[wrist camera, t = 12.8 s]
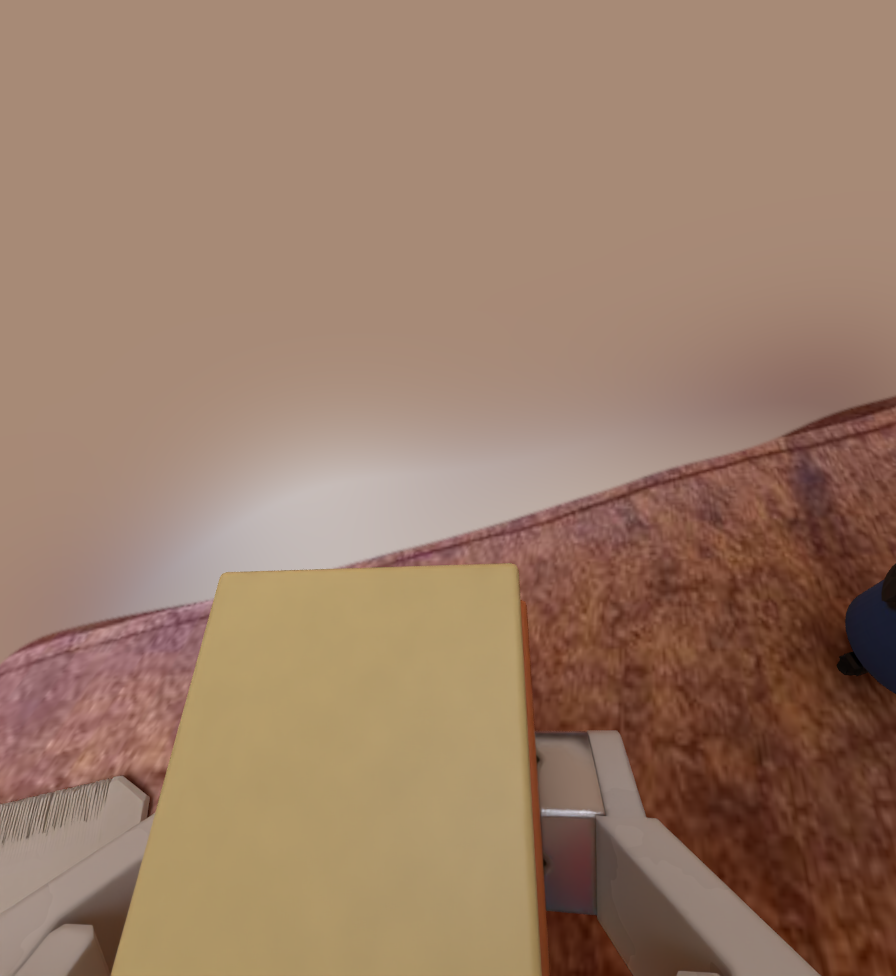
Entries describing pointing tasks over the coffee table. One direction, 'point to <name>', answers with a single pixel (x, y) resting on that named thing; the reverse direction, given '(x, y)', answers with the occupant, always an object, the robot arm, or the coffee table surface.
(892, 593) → the flashlight
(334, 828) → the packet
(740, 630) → the coffee table surface
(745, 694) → the coffee table surface
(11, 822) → the grooming comb
